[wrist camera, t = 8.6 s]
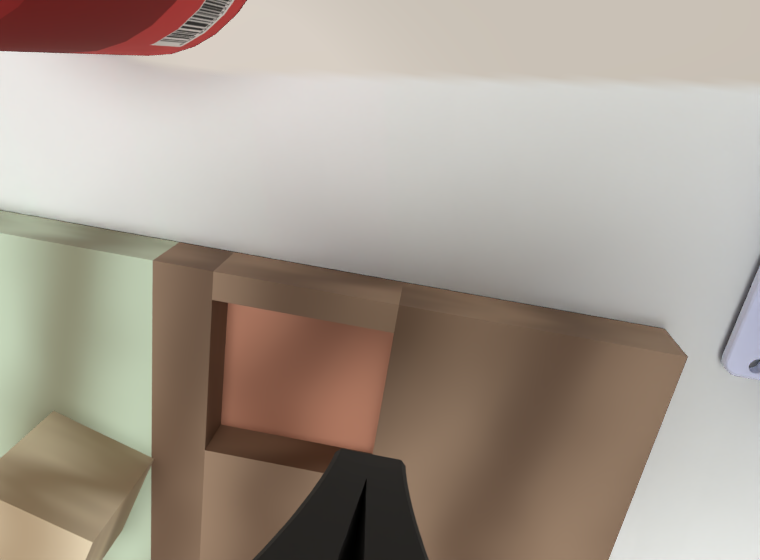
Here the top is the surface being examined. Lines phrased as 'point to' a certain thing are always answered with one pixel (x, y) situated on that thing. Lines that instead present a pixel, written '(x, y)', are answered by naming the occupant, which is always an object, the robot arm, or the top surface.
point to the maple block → (66, 492)
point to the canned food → (111, 25)
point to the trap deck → (325, 393)
